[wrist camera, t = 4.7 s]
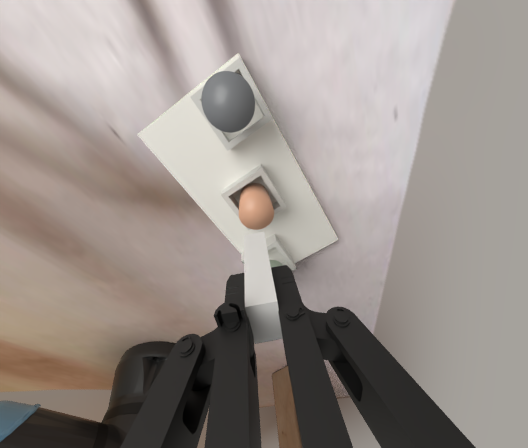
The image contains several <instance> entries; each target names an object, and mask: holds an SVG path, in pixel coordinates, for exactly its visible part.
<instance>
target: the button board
mask: <svg viewBox="0 0 528 448" xmlns="http://www.w3.org/2000/svg"><path fill="white" fill-rule="evenodd" d="M221 71H231V72H235V73H237V74H239V75H240V76H242V77H243V78H244V79H245V80H246V81H247V82H248V83H249V85H250V87H251V89H252V91H253V94H254V98H255V111H254V115H253V117H252V119H251V121H250V123H249V124H248V125H247V126H246V127H245V128H244V129H242V130H240V131H238V132H233V133H228V132H223V131H221V130H219V129H217V128H215V127H214V126H213V125H212V124H211V123H210V122H209V121H208V119H207V118H206V116H205V114H204V111H203V108H202V102H201V96H202V91H203V88H204V85H205V83H206V82H207V80H208V79H209V78H210V77H211V76H212V75H214V74H215V73H218V72H221ZM212 75H210V76H209V77H208V78H207V79H205V80H204V81H203V82H202V83H201V84H199V85H198V86H197V87H196V88H194V89H193V90H192V91H191V92H189V93H188V94H187V95H186V96H184V97H183V98H182V99H181V100H179V101H178V102H177V103H176V104H175V105H173V106H172V107H171V108H170V109H168V110H167V111H166V112H165V113H163V114H162V115H161V116H160V117H158V118H157V119H156V120H155V121H153V122H152V123H151V124H150V125H149V126H147V127H146V128H145V129H144V130H142V131H141V132H140V133H139V134H137V135H138V136H139V137H140V139H141V140H142V141H143V142H144V143H145V144H146V145H147V147H148V148H149V149H150V150H151V151H152V152H153V153H154V155H155V156H156V157H157V158H158V159H159V160H160V162H161V163H162V164H163V165H164V166H165V167H166V168H167V170H168V171H169V172H170V173H171V174H172V175H173V176H174V178H175V179H176V180H177V181H178V182H179V183H180V185H181V186H182V187H183V188H184V189H185V190H186V191H187V193H188V194H189V195H190V196H191V197H192V198H193V199H194V201H195V202H196V203H197V204H198V205H199V206H200V208H201V209H202V210H203V211H204V212H205V213H206V214H207V216H208V217H209V218H210V219H211V220H212V221H213V222H214V224H215V225H216V226H217V227H218V228H219V229H220V230H221V232H222V233H223V234H224V235H225V236H226V237H227V239H228V240H229V241H230V242H231V243H232V244H233V245H234V247H235V248H236V249H237V250H238V251H239V252H240V253H241V255H242V259H241V262H242V263H243V264H244V235H247V234H253V233H259V232H264V235H265V240H266V245H267V250H268V255H269V260H276V261H279V262H280V263H281V264H282V265H287V266H288V267H289V268H290V269H291V270H292V271H293V270H295V269H297V268H296V265H295V263H297V262H298V261H300V260H302V259H304V258H306V257H308V256H309V255H311V254H313V253H315V252H317V251H319V250H320V249H322V248H324V247H326V246H328V245H330V244H332V243H333V242H335V241H337V240H339V239H338V237H337V235H336V234H335V232H334V230H333V228H332V226H331V224H330V222H329V221H328V219H327V217H326V215H325V213H324V211H323V209H322V208H321V206H320V204H319V202H318V200H317V198H316V196H315V195H314V193H313V191H312V189H311V187H310V185H309V183H308V182H307V180H306V178H305V176H304V174H303V172H302V170H301V169H300V167H299V165H298V163H297V161H296V159H295V157H294V156H293V154H292V152H291V150H290V148H289V146H288V144H287V143H286V141H285V139H284V137H283V135H282V133H281V131H280V130H279V128H278V126H277V124H276V122H275V120H274V118H273V116H272V114H271V113H270V111H269V109H268V107H267V105H266V103H265V101H264V100H263V98H262V96H261V94H260V92H259V90H258V88H257V87H256V85H255V83H254V81H253V79H252V77H251V75H250V74H249V72H248V70H247V68H246V66H245V64H244V62H243V61H242V59H241V57H240V55H239V54H236V55H235V56H234V57H233V58H231V59H230V60H229V61H228V62H227V63H225V64H224V65H223V66H222V67H220V68H219V69H218V70H217V71H215V72H214V73H213V74H212ZM251 183H258V184H261V185H263V186H264V187H265V188H266V189H267V191H268V193H269V196H270V199H271V203H272V206H273V209H274V217H273V220H272V222H271V223H270V224H269V225H268V226H267V227H265V228H263V229H259V230H253V229H249V228H247V227H245V226H244V225H243V224H242V223H241V221H240V219H239V200H240V193H241V190H242V189H243V188H244V187H245V186H246V185H248V184H251Z"/></svg>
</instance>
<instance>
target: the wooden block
mask: <svg viewBox="0 0 528 448" xmlns="http://www.w3.org/2000/svg"><path fill="white" fill-rule="evenodd" d="M272 380H273V390H274V399H275V409H276V418H277V427H278V436H279V446H280V448H302V442H301V437H300V431H299V426H298V420H297V415H296V409H295V404H294V398H293V393H292V387H291V382H290V376H289V371H288V366H286V367H284V368H282V369H280V370H279V371H277V372H275V373H273V374H272Z"/></svg>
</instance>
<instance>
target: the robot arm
mask: <svg viewBox="0 0 528 448" xmlns="http://www.w3.org/2000/svg"><path fill="white" fill-rule="evenodd" d="M214 317H215V320H216V322H217V325H218V327H217V328H216V329H215V330H214V331H212V332H210V333H208V334H206V335H204V336H202V337H199V336H198V335H196V334H189V335H186V336H184V337H182V338H181V339H180V340H179V341H177V343H176V344H172V343H167V342H149V343H143V344H139V345H136V346H134V347H132V348H130V349H129V350H127V351H126V352H125V353H124V354H123V356H122V358H121V360H120V362H119V364H118V366H117V368H116V371H115V377H114V381H113V386H112V391H111V397H110V402H109V407H108V410H107V412H106V414H105V416H104V418H103V420H102V423H100V422H96V421H92V420H88V419H84V418H80V417H76V416H72V415H68V414H64V413H60V412H56V411H52V410H48V409H44V408H40V407H39V406H41V405H40V404H35V405H28V404H23V403H18V402H13V401H0V448H197V445H198V442H199V438H200V435H201V431H202V428H203V424H204V422H205V418H206V415H207V412H208V408H209V414H208V423H207V432H206V440H205V448H261V433H260V416H259V399H258V382H257V365H256V354H255V350H254V343H255V344H257V343H262V342H267V341H273V340H278V339H283V343H284V348H285V355H286V360H287V365H288V371H289V376H290V382H291V387H292V393H293V398H294V404H295V409H296V415H297V420H298V426H299V431H300V437H301V442H302V448H353V446H352V443H351V441H350V438H349V435H348V432H347V429H346V426H345V423H344V420H343V417H342V414H341V411H340V408H339V405H338V402H337V399H336V396H335V393H334V390H333V387H332V384H331V381H330V378H329V375H328V372H327V369H326V366H325V363H324V360H328V361H329V363H330V364H331V366H332V367H333V369H334V371H335V372H336V374H337V376H338V377H339V379H340V381H341V382H342V384H343V385H344V387H345V389H346V390H347V392H348V394H349V395H350V397H351V399H352V400H353V402H354V403H355V405H356V407H357V408H358V410H359V412H360V413H361V415H362V416H363V418H364V420H365V422H366V423H367V425H368V426H369V428H370V430H371V431H372V433H373V435H374V436H375V438H376V440H377V441H378V443H379V444H380V446H381V448H475V447H474V445H473V444H472V443H471V442H470V441H469V440H468V439H467V438H466V437H465V435H463V433H462V432H461V431H460V430H459V429H458V428H457V427H456V426H455V425H454V424H453V422H452V421H451V420H450V419H449V418H448V417H447V416H446V415H445V413H444V412H443V411H442V410H441V409H440V408H439V407H438V406H437V405H436V404H435V402H434V401H433V400H432V399H431V398H430V397H429V396H428V395H427V394H426V393H425V391H424V390H423V389H422V388H421V387H420V386H419V385H418V384H417V383H416V382H415V380H414V379H413V378H412V377H411V376H410V375H409V374H408V373H407V372H406V371H405V369H403V367H402V366H401V365H400V364H399V363H398V362H397V361H396V359H395V358H394V357H393V356H392V355H391V354H390V353H389V352H388V351H387V350H386V349H385V347H384V346H383V345H382V344H381V343H380V342H379V341H378V340H377V339H376V337H375V336H374V335H373V334H372V333H371V332H370V331H369V330H368V329H367V328H366V326H365V325H364V324H363V323H362V322H361V321H360V320H359V319H358V318H357V317H356V315H355V314H354V313H352V312H351V311H350V310H348V309H346V308H344V307H334V308H331V309H330V310H328V311H327V313H319V312H314V311H311V310H309V309H308V308H306V307H305V306H304V304H303V303H302V300H301V297H300V294H299V291H298V288H297V285H296V282H295V279H294V276H293V273H292V270H291V269H290V268H289V267H288V266H287V265H283V266H277V267H272V268H271V266H270V260H269V255H268V250H267V245H266V240H265V235H264V232H259V233H253V234H247V235H244V273H241V274H235V275H231V276H230V277H229V279H228V281H227V284H226V295H225V303H223V304H222V305H220V306H219V307H218V308H217V310H216V311H215V314H214ZM323 359H324V360H323ZM209 405H210V406H209Z"/></svg>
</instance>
